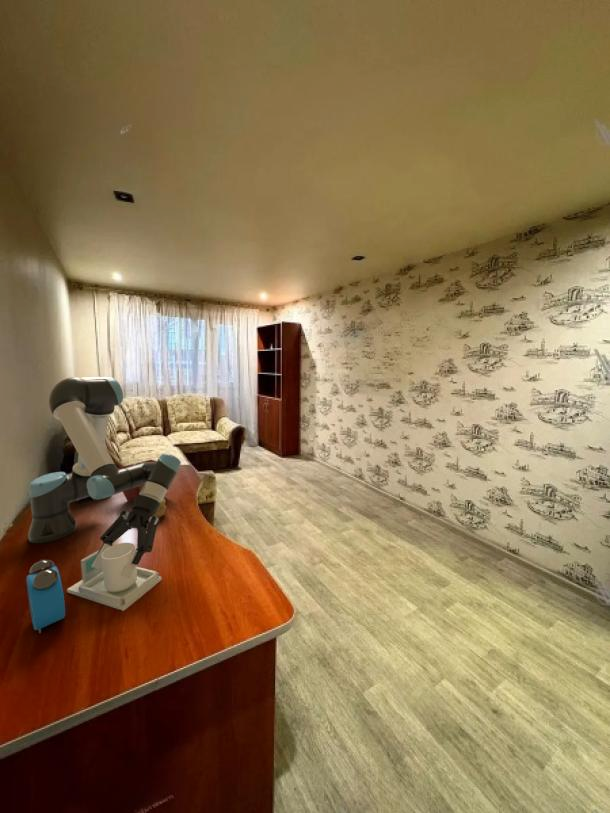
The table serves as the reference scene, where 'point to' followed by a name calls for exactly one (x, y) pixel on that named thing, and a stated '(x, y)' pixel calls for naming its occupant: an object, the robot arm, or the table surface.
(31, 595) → the alarm clock
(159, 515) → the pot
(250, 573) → the table surface
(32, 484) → the robot arm
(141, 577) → the dock
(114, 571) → the cup
